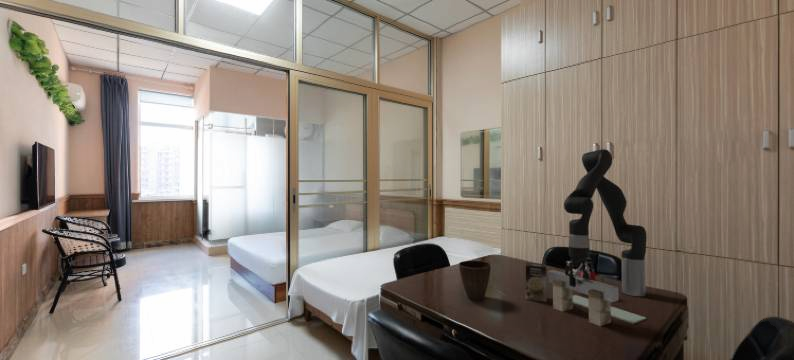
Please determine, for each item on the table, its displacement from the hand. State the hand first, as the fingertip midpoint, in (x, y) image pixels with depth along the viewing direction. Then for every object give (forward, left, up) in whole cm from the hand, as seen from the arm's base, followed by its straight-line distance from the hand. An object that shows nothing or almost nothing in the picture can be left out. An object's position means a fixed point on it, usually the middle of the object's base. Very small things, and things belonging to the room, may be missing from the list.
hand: (579, 284), depth 136 cm
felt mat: (-14, 0, -12) cm, 19 cm away
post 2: (0, +8, -12) cm, 15 cm away
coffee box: (0, -22, -13) cm, 25 cm away
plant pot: (+24, -37, -13) cm, 46 cm away
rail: (0, 0, -2) cm, 2 cm away
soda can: (-26, -14, -13) cm, 32 cm away
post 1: (0, -8, -12) cm, 15 cm away
